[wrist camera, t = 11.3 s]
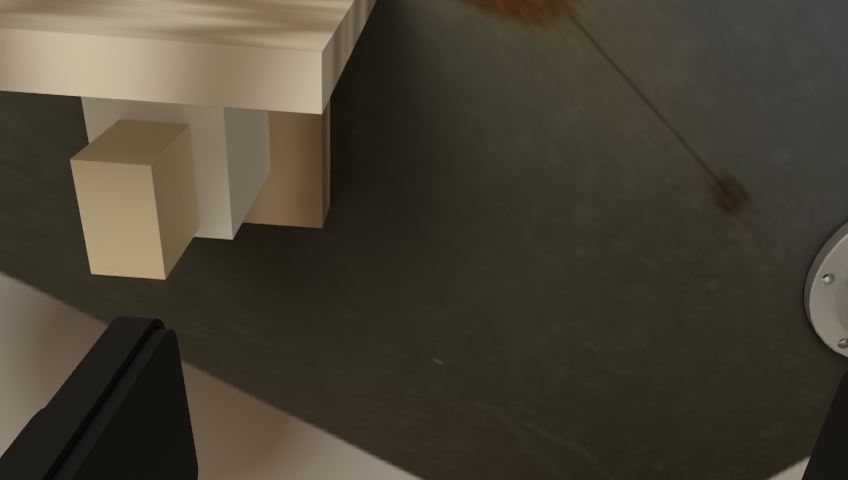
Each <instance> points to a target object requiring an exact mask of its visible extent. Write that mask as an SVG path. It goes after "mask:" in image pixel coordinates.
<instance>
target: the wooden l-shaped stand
mask: <svg viewBox="0 0 848 480" xmlns="http://www.w3.org/2000/svg"><path fill="white" fill-rule="evenodd" d="M375 3H376V0H0V90H2V91H16V92H29V93H43V94H56V95H70V96H83V97H97V98H110V99H124V100H137V101H150V102H164V103H177V104H191V105H204V106H218V107H231V108H245V109H258V110H268V115H269V142H270V168H271V171H270V173H269V175H268V177H267V179H266V180H265V182H264V184H263V186H262V188H261V189H260V191H259V193H258V195H257V197H256V199H255V200H254V202H253V204H252V206H251V208H250V209H249V211H248V213H247V215H246V217H245V218H244V220H243V222H245V223H258V224H272V225H286V226H299V227H313V228H323V225H324V222H325V219H326V216H327V213H328V210H329V207H330V96H331V94H332V92H333V90H334V88H335V86H336V84H337V82H338V80H339V78H340V75H341V73H342V71H343V69H344V67H345V65H346V63H347V61H348V59H349V57H350V55H351V53H352V50H353V48H354V46H355V44H356V42H357V40H358V38H359V36H360V34H361V32H362V30H363V28H364V25H365V23H366V21H367V19H368V17H369V15H370V13H371V11H372V9H373V7H374V5H375Z"/></svg>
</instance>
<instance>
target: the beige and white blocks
mask: <svg viewBox="0 0 848 480" xmlns="http://www.w3.org/2000/svg"><path fill="white" fill-rule="evenodd" d="M81 99H82V105H83V111H84V117H85V123H86V128H87V134H88V140H89V145H87V146H86V147H85V148H84V149H82V150H81V151H80V152H79V153H78V154H76V155H75V156H74V157H73V158H71V159H70V162H71V167H72V172H73V178H74V183H75V189H76V194H77V199H78V205H79V210H80V215H81V221H82V226H83V231H84V237H85V242H86V248H87V253H88V258H89V264H90V269H91V274H100V275H113V276H126V277H139V278H152V279H166V278H167V276H168V275H169V273H170V272H171V270H172V269H173V267H174V266H175V264H176V263H177V261H178V260H179V258H180V257H181V255H182V254H183V252H184V251H185V249H186V247H187V246H188V244H189V243H190V241H191V240H192V238H193V237H206V238H219V239H232V240H233V238H234V236H235V235H236V233H237V231H238V229H239V227H240V226H241V224H242V222H243V220H244V218H245V217H246V215H247V213H248V211H249V209H250V208H251V206H252V204H253V202H254V200H255V199H256V197H257V195H258V193H259V191H260V189H261V188H262V186H263V184H264V182H265V180H266V179H267V177H268V175H269V173H270V171H271V168H270V142H269V115H268V110H258V109H245V108H231V107H218V106H204V105H191V104H177V103H164V102H150V101H137V100H124V99H110V98H97V97H83V96H81Z"/></svg>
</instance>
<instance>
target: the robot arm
mask: <svg viewBox="0 0 848 480" xmlns="http://www.w3.org/2000/svg"><path fill="white" fill-rule="evenodd" d="M804 307H805V310H806V314H807V317H808V320H809V322H810V323H811V325H812V327H813V328H814V330H815V331H816V333H817V334H818V335H819V336H820V337H821V339H822V340H823V341H824V342H825V344H827V345H828V346H829V347H830V348H832V349H833V350H834V351H836V352H837V353H839V354H842V355H844V356H846V357H848V222H847V223H846V224H845V225H843V226H842V227H841V228H840V229H839V230H838V231H837V232H836V233H835V234H834V235H833V236H832V237H831V238H830V239H829V240H828V241H827V242H826V243H825V245H824V246H823V248H822V249H821V250H820V252H819V253H818V255H817V256H816V258H815V259H814V261H813V264H812V266H811V268H810V270H809V273H808V275H807V279H806V284H805V288H804ZM197 479H198V463H197V457H196V451H195V446H194V439H193V433H192V427H191V421H190V414H189V409H188V402H187V396H186V390H185V384H184V378H183V372H182V366H181V359H180V353H179V347H178V341H177V336H176V333H175V332H174V330H171V329H165V326H164V324H163V322H162V320H160V319H158V318H142V317H125V316H120V317H117V318H115V319H114V320H113V321H112V322H111V324H110V325H109V326H108V328H107V329H106V330H105V331H104V333H103V334H102V335H101V336H100V338H99V339H98V340H97V342H96V343H95V344H94V346H93V347H92V348H91V349H90V351H89V352H88V353H87V354H86V356H85V357H84V358H83V360H82V361H81V362H80V364H79V365H78V366H77V367H76V369H75V370H74V371H73V372H72V374H71V375H70V376H69V378H68V379H67V380H66V381H65V383H64V384H63V385H62V386H61V388H60V389H59V390H58V392H57V393H56V394H55V395H54V397H53V398H52V399H51V401H50V402H49V403H48V404H47V406H46V407H45V408H43V409H41V410H40V411H39V412H37V413H36V414H35V415H34V416H33V417H32V419H31V420H30V421H29V422H28V424H27V425H26V426H25V428H24V429H23V430H22V431H21V432H20V434H19V435H18V437H16V439H15V440H14V442H13V443H12V444H11V445H10V446H9V448H8V449H7V450H6V451H5V453H4V454H3V455H2V456H1V458H0V480H197ZM802 480H848V371H847V372H846V373H845V374H844V375H843V377H842V379H841V381H840V384H839V387H838V389H837V392H836V394H835V397H834V399H833V402H832V404H831V407H830V409H829V412H828V414H827V417H826V419H825V422H824V424H823V427H822V430H821V432H820V435H819V437H818V440H817V442H816V445H815V447H814V450H813V452H812V455H811V457H810V460H809V462H808V465H807V467H806V470H805V473H804V475H803V478H802Z"/></svg>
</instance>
